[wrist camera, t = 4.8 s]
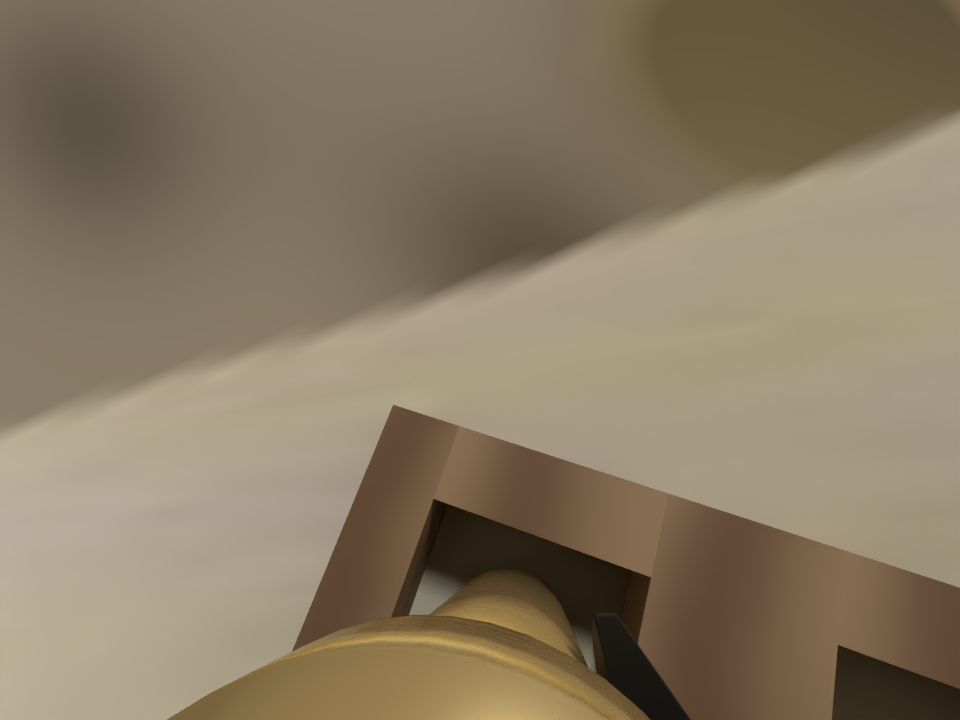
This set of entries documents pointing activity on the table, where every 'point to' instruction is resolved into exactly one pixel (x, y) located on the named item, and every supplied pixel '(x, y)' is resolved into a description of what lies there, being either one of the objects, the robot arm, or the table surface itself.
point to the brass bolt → (435, 667)
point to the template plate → (644, 573)
